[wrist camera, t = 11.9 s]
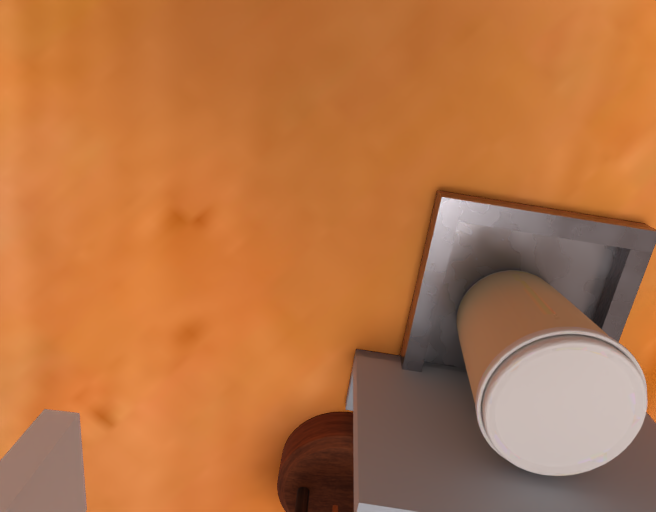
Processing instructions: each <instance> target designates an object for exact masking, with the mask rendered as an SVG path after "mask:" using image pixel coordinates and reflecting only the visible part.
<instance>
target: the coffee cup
mask: <svg viewBox="0 0 656 512" xmlns="http://www.w3.org/2000/svg"><path fill="white" fill-rule="evenodd" d="M456 323H457V330H458V336H459V341H460V345H461V349H462V353H463V357H464V362H465V366H466V370H467V374H468V378H469V382H470V386H471V390H472V394H473V398H474V402H475V409H476V416H477V421H478V424H479V427H480V430H481V432H482V434H483V436H484V438H485V439H486V441H487V442H488V444H489V445H490V446H491V447H492V448H493V449H494V450H495V451H496V452H497V453H498V454H499V455H500V456H502V457H503V458H505V459H506V460H508V461H509V462H511V463H512V464H514V465H516V466H517V467H519V468H522V469H524V470H526V471H529V472H532V473H536V474H541V475H550V476H566V475H574V474H579V473H583V472H586V471H590V470H592V469H595V468H597V467H599V466H602V465H604V464H606V463H607V462H609V461H611V460H612V459H614V458H615V457H616V456H618V455H619V454H620V453H621V452H622V451H624V450H625V449H626V448H627V446H628V445H629V444H630V443H631V442H632V441H633V439H634V438H635V437H636V435H637V434H638V432H639V430H640V429H641V426H642V424H643V422H644V419H645V415H646V410H647V386H646V381H645V377H644V374H643V371H642V369H641V367H640V365H639V363H638V362H637V361H636V359H635V358H634V356H633V355H632V354H631V353H630V352H629V351H628V350H627V349H626V348H625V347H624V346H623V345H621V344H620V343H619V342H617V341H616V340H614V339H613V338H611V337H609V336H608V335H607V334H606V333H605V332H604V331H603V330H602V329H601V328H599V327H598V326H597V325H596V324H595V323H594V322H593V321H591V320H590V319H589V318H588V317H587V316H586V315H585V314H583V313H582V312H581V311H580V310H579V309H578V308H577V307H575V306H574V305H573V304H572V303H571V302H570V301H568V300H567V299H566V298H565V297H564V296H563V295H561V294H560V293H559V292H558V291H557V290H556V289H554V288H553V287H552V286H551V285H549V284H548V283H547V282H545V281H544V280H543V279H541V278H540V277H538V276H536V275H534V274H531V273H528V272H524V271H519V270H507V271H500V272H496V273H492V274H490V275H488V276H486V277H484V278H482V279H480V280H479V281H477V282H476V283H475V284H474V285H473V286H472V287H471V288H470V289H469V290H468V291H467V292H466V294H465V295H464V297H463V298H462V300H461V302H460V305H459V308H458V311H457V320H456Z"/></svg>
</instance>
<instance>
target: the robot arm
mask: <svg viewBox="0 0 656 512" xmlns="http://www.w3.org/2000/svg"><path fill="white" fill-rule="evenodd" d="M86 510H87V506H86V493H85V480H84V467H83V454H82V441H81V428H80V415H79V413H73V412H65V411H56V410H47V409H44V410H43V412H42V413H41V414H40V415H39V416H38V417H37V419H36V420H35V421H34V422H33V423H32V424H31V426H30V427H29V428H28V429H27V430H26V431H25V433H24V434H23V435H22V436H21V437H20V438H19V440H18V441H17V442H16V443H15V444H14V445H13V446H12V448H11V449H10V450H9V451H8V452H7V453H6V455H5V456H4V457H3V458H2V459H1V460H0V512H86Z"/></svg>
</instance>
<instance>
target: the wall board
mask: <svg viewBox="0 0 656 512" xmlns="http://www.w3.org/2000/svg"><path fill="white" fill-rule="evenodd" d="M346 410H352V411H353V457H354V512H656V423H655V422H654V421H653V420H652V418H651V417H650V416H649V415H648V414H647V412H646V415H645V419H644V422H643V424H642V426H641V429H640V430H639V432H638V434H637V435H636V437H635V438H634V439H633V441H632V442H631V443H630V444H629V445H628V446H627V448H626V449H625V450H624V451H622V452H621V453H620V454H619V455H618V456H616V457H615V458H614V459H612V460H611V461H609V462H607V463H606V464H604V465H602V466H599V467H597V468H595V469H592V470H590V471H586V472H583V473H579V474H574V475H566V476H550V475H541V474H536V473H532V472H529V471H526V470H524V469H522V468H519V467H517V466H516V465H514V464H512V463H511V462H509V461H508V460H506V459H505V458H503V457H502V456H500V455H499V454H498V453H497V452H496V451H495V450H494V449H493V448H492V447H491V446H490V445H489V444H488V442H487V441H486V439H485V438H484V436H483V434H482V432H481V430H480V427H479V424H478V421H477V416H476V409H475V402H474V398H473V394H472V390H471V386H470V382H469V378H468V374H467V370H466V369H465V368H458V367H452V366H445V365H439V364H433V363H426V362H424V364H423V369H422V372H416V371H410V370H404V369H402V366H401V360H400V356H398V355H391V354H385V353H378V352H372V351H366V350H359V349H356V352H355V357H354V362H353V368H352V373H351V378H350V383H349V388H348V393H347V398H346Z"/></svg>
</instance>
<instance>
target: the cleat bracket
mask: <svg viewBox="0 0 656 512" xmlns="http://www.w3.org/2000/svg"><path fill="white" fill-rule="evenodd" d="M655 244H656V230H655V229H654V228H652V227H650V226H648V225H646V224H644V223H638V222H631V221H625V220H619V219H613V218H606V217H600V216H594V215H588V214H582V213H575V212H569V211H563V210H557V209H551V208H544V207H538V206H532V205H526V204H520V203H513V202H507V201H501V200H495V199H489V198H482V197H476V196H470V195H464V194H457V193H451V192H445V191H439V190H437V194H436V199H435V203H434V207H433V212H432V216H431V221H430V225H429V229H428V234H427V238H426V243H425V247H424V251H423V256H422V260H421V265H420V269H419V273H418V278H417V282H416V287H415V291H414V296H413V300H412V304H411V309H410V313H409V318H408V322H407V326H406V331H405V335H404V340H403V344H402V348H401V353H400V360H401V366H402V369H404V370H410V371H416V372H422V369H423V364H424V362H426V363H433V364H439V365H445V366H452V367H458V368H465V369H466V366H465V362H464V357H463V353H462V349H461V345H460V341H459V336H458V330H457V323H456V320H457V311H458V308H459V305H460V302H461V300H462V298H463V297H464V295H465V294H466V292H467V291H468V290H469V289H470V288H471V287H472V286H473V285H474V284H475V283H476V282H477V281H479V280H480V279H482V278H484V277H486V276H488V275H490V274H492V273H496V272H500V271H507V270H519V271H524V272H528V273H531V274H534V275H536V276H538V277H540V278H541V279H543V280H544V281H545V282H547V283H548V284H549V285H551V286H552V287H553V288H554V289H556V290H557V291H558V292H559V293H560V294H561V295H563V296H564V297H565V298H566V299H567V300H568V301H570V302H571V303H572V304H573V305H574V306H575V307H577V308H578V309H579V310H580V311H581V312H582V313H583V314H585V315H586V316H587V317H588V318H589V319H590V320H591V321H593V322H594V323H595V324H596V325H597V326H598V327H599V328H601V329H602V330H603V331H604V332H605V333H606V334H607V335H608V336H609V337H611V338H613V339H614V340H616V341H617V342H619V339H620V336H621V334H622V331H623V328H624V326H625V323H626V320H627V318H628V315H629V313H630V310H631V307H632V305H633V302H634V299H635V297H636V294H637V291H638V289H639V286H640V283H641V281H642V278H643V275H644V273H645V270H646V268H647V265H648V262H649V260H650V257H651V254H652V252H653V249H654V246H655Z"/></svg>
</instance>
